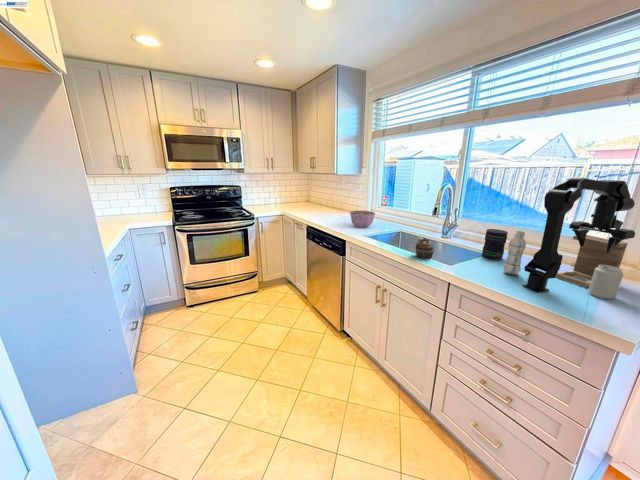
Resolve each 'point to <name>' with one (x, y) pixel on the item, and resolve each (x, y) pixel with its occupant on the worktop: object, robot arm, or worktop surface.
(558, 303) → the worktop surface
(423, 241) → the cupcake
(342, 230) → the worktop surface
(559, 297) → the worktop surface
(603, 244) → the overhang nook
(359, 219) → the bowl of food
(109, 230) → the worktop surface
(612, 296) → the can
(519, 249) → the plastic bottle
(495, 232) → the storage jar
